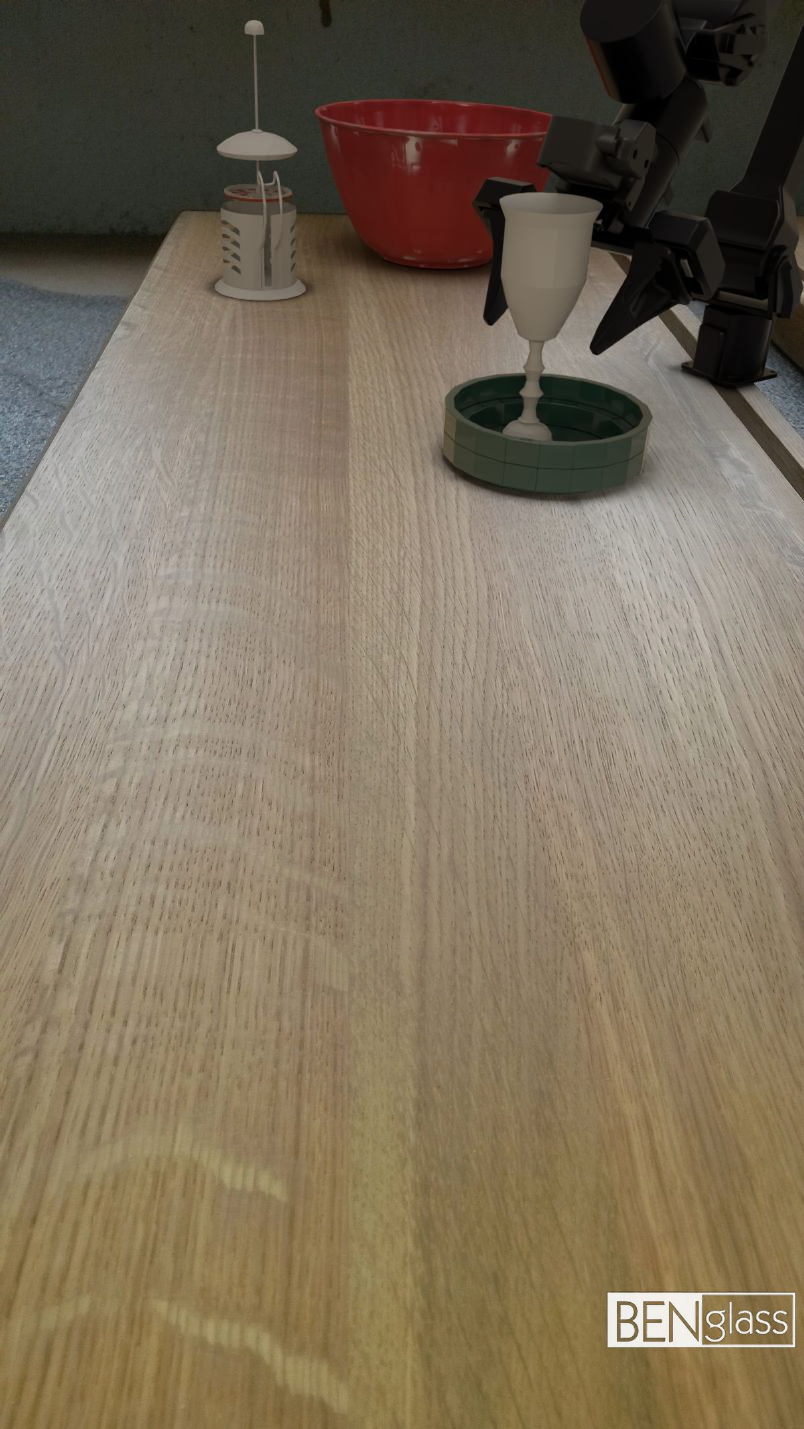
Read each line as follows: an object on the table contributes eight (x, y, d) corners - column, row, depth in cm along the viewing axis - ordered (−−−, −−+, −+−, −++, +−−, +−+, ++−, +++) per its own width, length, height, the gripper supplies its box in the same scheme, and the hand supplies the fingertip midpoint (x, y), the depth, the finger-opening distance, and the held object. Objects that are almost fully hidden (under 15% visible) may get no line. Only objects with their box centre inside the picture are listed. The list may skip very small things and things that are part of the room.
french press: (293, 274, 136) (291, 16, 122) (321, 302, 127) (322, 27, 113) (206, 277, 133) (193, 14, 119) (227, 307, 124) (217, 26, 110)
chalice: (523, 431, 96) (548, 188, 86) (590, 457, 92) (624, 206, 82) (459, 452, 92) (477, 199, 82) (525, 481, 88) (553, 218, 78)
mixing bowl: (338, 221, 158) (340, 89, 150) (557, 238, 156) (572, 104, 147) (292, 275, 135) (291, 122, 126) (549, 296, 132) (566, 141, 124)
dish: (550, 411, 102) (556, 361, 100) (685, 473, 92) (695, 420, 90) (402, 445, 95) (404, 392, 92) (531, 517, 84) (537, 460, 82)
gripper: (497, 52, 85) (389, 241, 84) (738, 83, 76) (618, 297, 75) (549, 161, 95) (452, 331, 94) (769, 201, 85) (663, 392, 84)
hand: (538, 336), depth 86 cm, fingers open, 9 cm apart
